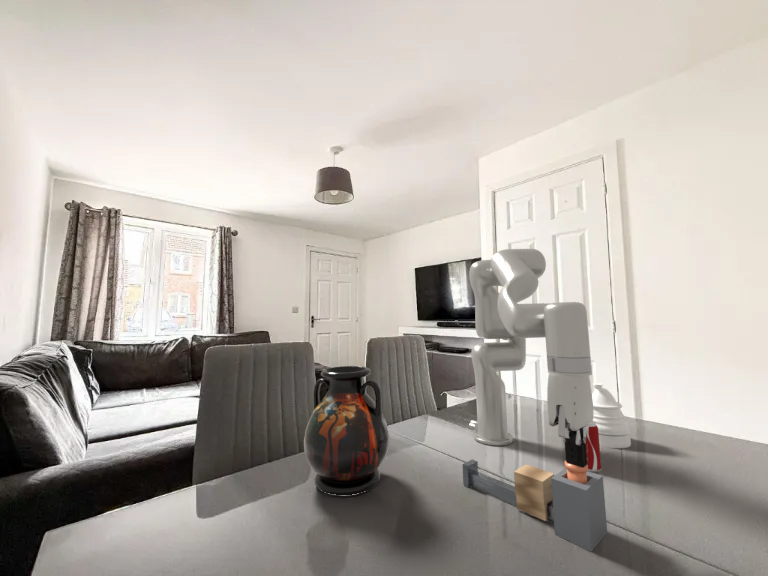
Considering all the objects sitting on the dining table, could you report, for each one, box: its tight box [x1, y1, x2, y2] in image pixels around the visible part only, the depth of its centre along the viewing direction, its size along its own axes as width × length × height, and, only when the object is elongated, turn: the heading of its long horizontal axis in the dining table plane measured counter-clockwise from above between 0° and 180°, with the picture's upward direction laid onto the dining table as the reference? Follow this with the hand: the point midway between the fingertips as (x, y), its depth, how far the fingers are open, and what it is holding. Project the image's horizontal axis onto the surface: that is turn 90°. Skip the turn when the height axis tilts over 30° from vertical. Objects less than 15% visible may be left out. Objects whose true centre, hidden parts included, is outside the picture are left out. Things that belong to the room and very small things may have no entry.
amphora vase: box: [303, 365, 390, 495], centre depth 85 cm, size 22×22×28 cm
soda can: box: [583, 421, 602, 473], centre depth 88 cm, size 5×5×12 cm
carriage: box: [513, 463, 555, 522], centre depth 69 cm, size 6×5×8 cm
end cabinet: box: [551, 467, 608, 552], centre depth 62 cm, size 6×8×10 cm
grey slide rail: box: [461, 458, 554, 525], centre depth 73 cm, size 23×4×5 cm, turn 39°
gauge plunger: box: [564, 460, 588, 484], centre depth 63 cm, size 4×4×7 cm
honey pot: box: [592, 382, 632, 449], centre depth 107 cm, size 13×13×18 cm
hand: (576, 463), depth 63 cm, fingers closed
